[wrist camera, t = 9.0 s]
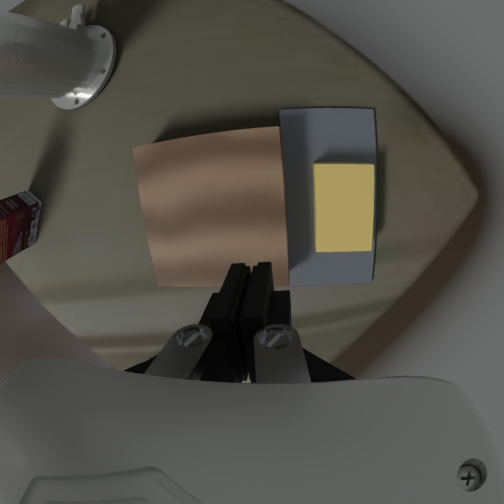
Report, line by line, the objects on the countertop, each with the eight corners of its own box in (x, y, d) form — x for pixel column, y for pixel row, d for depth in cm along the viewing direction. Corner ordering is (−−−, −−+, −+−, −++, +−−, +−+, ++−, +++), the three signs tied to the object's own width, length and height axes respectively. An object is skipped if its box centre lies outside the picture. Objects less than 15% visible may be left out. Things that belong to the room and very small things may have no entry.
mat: (278, 110, 26) (278, 109, 26) (372, 109, 25) (373, 109, 24) (290, 284, 34) (290, 285, 33) (370, 281, 32) (371, 282, 32)
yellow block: (374, 164, 25) (368, 162, 27) (314, 164, 26) (312, 162, 28) (371, 250, 28) (366, 243, 30) (316, 252, 29) (314, 244, 31)
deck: (149, 145, 30) (132, 147, 26) (280, 128, 27) (278, 126, 24) (171, 271, 35) (158, 286, 32) (289, 269, 33) (288, 285, 29)
